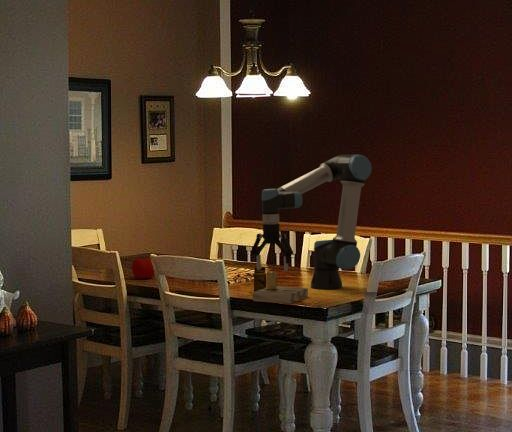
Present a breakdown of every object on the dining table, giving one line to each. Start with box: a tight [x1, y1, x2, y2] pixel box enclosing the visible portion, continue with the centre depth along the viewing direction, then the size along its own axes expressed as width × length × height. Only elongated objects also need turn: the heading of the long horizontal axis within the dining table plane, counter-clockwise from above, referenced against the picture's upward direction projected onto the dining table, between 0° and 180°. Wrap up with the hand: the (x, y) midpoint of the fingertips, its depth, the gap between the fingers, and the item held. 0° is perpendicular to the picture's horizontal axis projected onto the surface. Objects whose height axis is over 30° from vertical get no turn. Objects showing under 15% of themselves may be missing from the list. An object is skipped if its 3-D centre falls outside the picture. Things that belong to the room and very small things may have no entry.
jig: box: [252, 285, 309, 305], centre depth 448 cm, size 20×18×4 cm
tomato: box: [131, 256, 155, 280], centre depth 519 cm, size 12×13×12 cm
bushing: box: [266, 271, 278, 291], centre depth 449 cm, size 4×4×12 cm
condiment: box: [250, 266, 267, 292], centre depth 468 cm, size 7×8×12 cm
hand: (272, 270), depth 449 cm, fingers open, 13 cm apart
